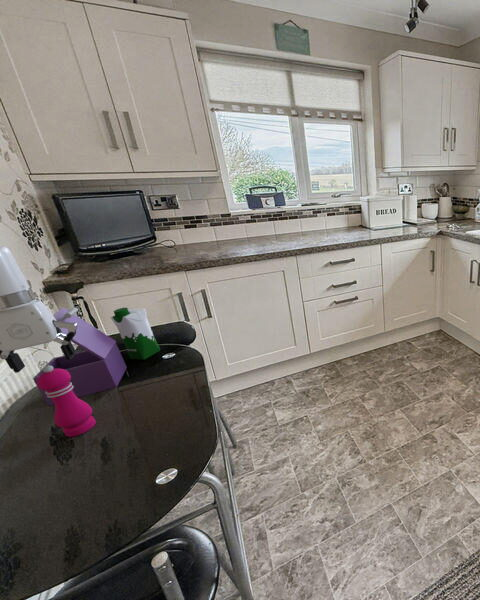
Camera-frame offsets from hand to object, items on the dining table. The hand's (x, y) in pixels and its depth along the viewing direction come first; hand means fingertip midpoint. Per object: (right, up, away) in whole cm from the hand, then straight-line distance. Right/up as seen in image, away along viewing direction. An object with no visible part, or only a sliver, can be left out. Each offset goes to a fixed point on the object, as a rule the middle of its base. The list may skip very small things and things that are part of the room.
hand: (46, 363), depth 82 cm
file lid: (-14, +5, +23) cm, 27 cm away
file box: (-15, -13, +28) cm, 34 cm away
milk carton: (-11, -6, +46) cm, 48 cm away
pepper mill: (+1, -19, +7) cm, 21 cm away
